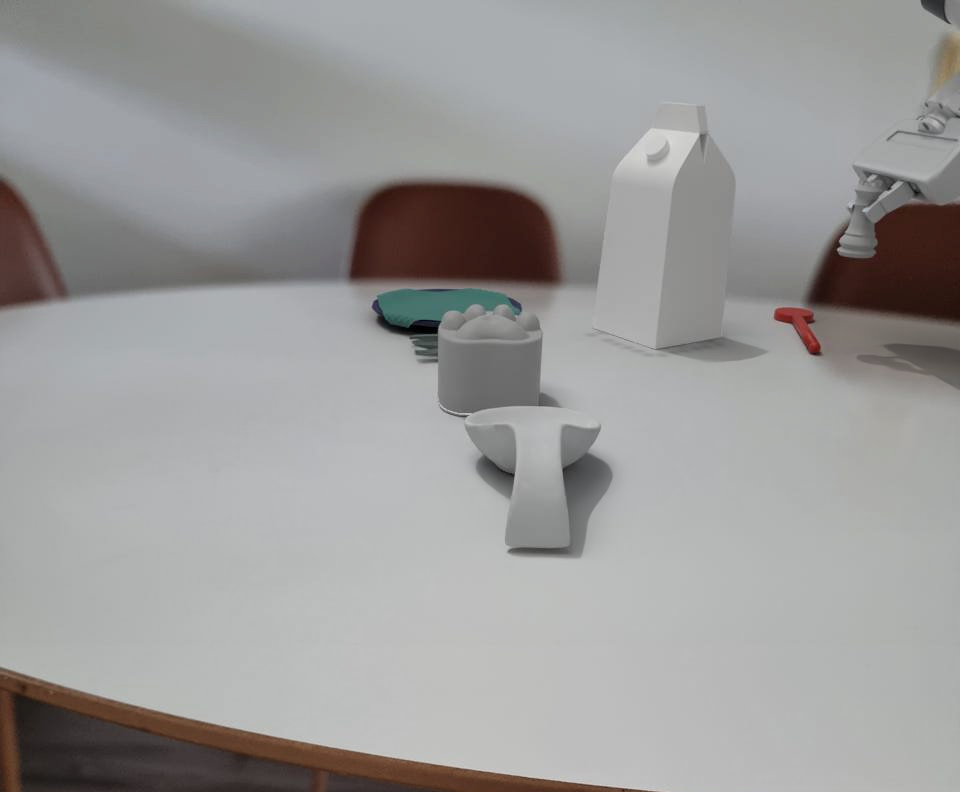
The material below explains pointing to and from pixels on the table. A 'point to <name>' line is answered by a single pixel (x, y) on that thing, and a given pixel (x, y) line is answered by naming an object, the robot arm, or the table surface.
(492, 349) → the lumpy-topped squat cylinder
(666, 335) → the milk
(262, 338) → the table surface
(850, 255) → the rook chess piece
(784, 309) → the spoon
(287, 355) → the table surface
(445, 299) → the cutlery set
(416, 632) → the table surface
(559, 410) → the spoon rest
